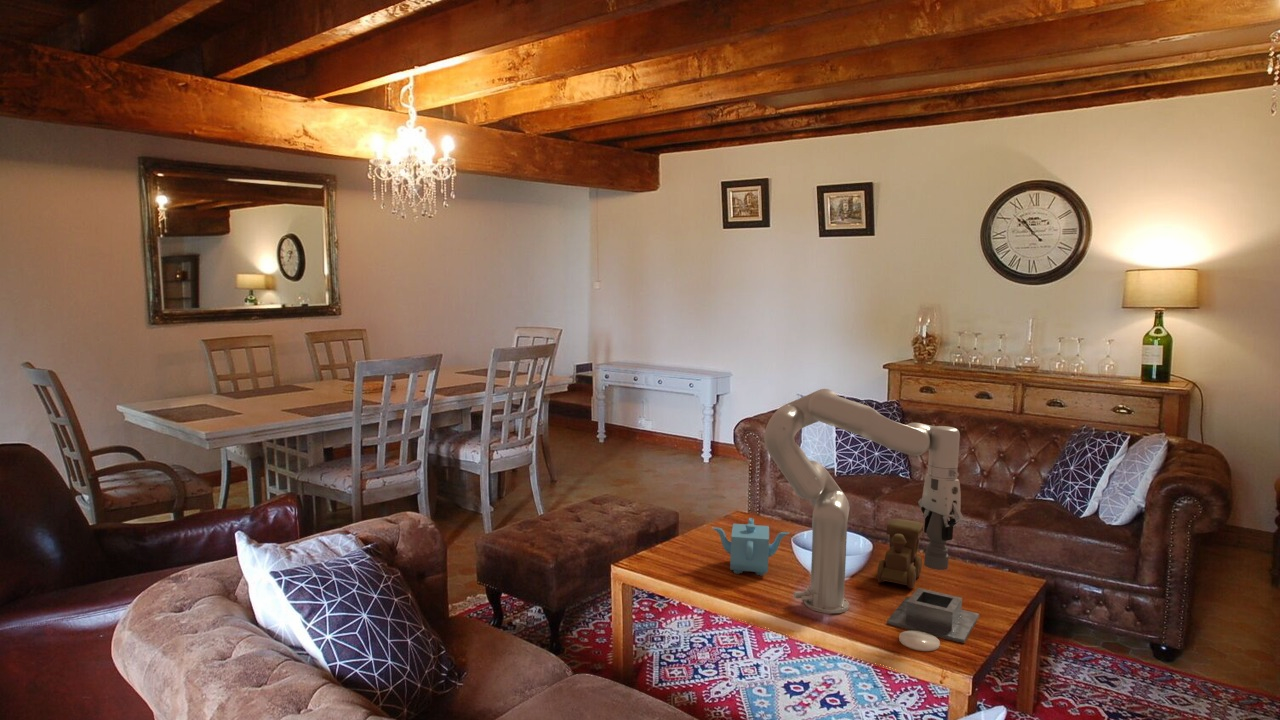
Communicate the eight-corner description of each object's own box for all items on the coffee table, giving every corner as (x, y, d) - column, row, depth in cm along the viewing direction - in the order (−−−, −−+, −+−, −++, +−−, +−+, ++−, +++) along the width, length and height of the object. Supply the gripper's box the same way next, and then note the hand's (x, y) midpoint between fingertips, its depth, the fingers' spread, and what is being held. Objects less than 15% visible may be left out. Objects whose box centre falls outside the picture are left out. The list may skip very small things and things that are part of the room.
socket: (964, 643, 205) (965, 621, 204) (886, 623, 216) (887, 602, 215) (978, 617, 221) (980, 596, 221) (906, 600, 232) (907, 580, 232)
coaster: (910, 652, 200) (910, 649, 200) (892, 634, 209) (892, 631, 209) (947, 650, 201) (947, 647, 201) (927, 632, 211) (927, 629, 211)
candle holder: (922, 566, 216) (928, 477, 213) (925, 560, 221) (931, 473, 219) (946, 571, 213) (952, 481, 210) (949, 564, 218) (955, 476, 216)
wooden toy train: (887, 565, 260) (890, 516, 259) (923, 572, 255) (926, 522, 253) (874, 585, 243) (877, 533, 241) (912, 593, 237) (915, 540, 236)
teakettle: (748, 584, 242) (750, 537, 241) (708, 565, 257) (709, 521, 256) (790, 571, 254) (792, 527, 252) (749, 554, 268) (751, 512, 267)
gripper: (977, 478, 208) (972, 544, 210) (929, 463, 224) (925, 525, 226) (956, 480, 205) (951, 547, 207) (909, 465, 221) (905, 528, 223)
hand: (938, 535), depth 216 cm, fingers closed on candle holder, 5 cm apart
